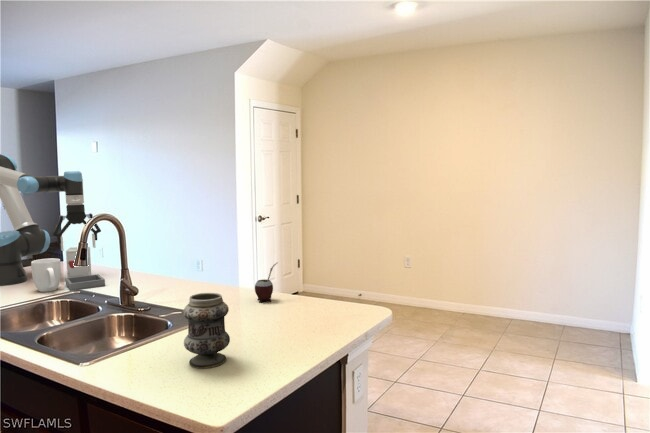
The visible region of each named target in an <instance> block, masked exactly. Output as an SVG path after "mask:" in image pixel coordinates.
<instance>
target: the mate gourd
mask: <svg viewBox="0 0 650 433" xmlns="http://www.w3.org/2000/svg"><path fill="white" fill-rule="evenodd" d="M277 264H278V261H276V262H275V263H274V264H273V265H272V266H271V268H270V270H269V274H268V277H267V279H258V280H257V281H256V282H255V284H254V292H255V295H256V296H257V301H258V303H259V304H262V303H264V302H267V303H272V300H271V299H272V294H273V291H274V286H273V285H274V284H273V282H272V281H271V280H270V277H271V273H272V271H273V268H275V267H276V265H277Z"/></svg>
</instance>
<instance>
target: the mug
mask: <svg viewBox="0 0 650 433" xmlns="http://www.w3.org/2000/svg"><path fill="white" fill-rule="evenodd" d="M30 266H31V267H30V268H31V276H32V281H33V284H34V287H35V288H36V289H37V291H38V292H41V293H47V292H53V291H56V290H57V289H58V287H59V285H60V282H61V279H62V278H61V277H62V268H61V267H62V266H61V259H60V258H49V257H48V258H41V259H36V260H35V259H34V260H32V261H31V262H30Z"/></svg>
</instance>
